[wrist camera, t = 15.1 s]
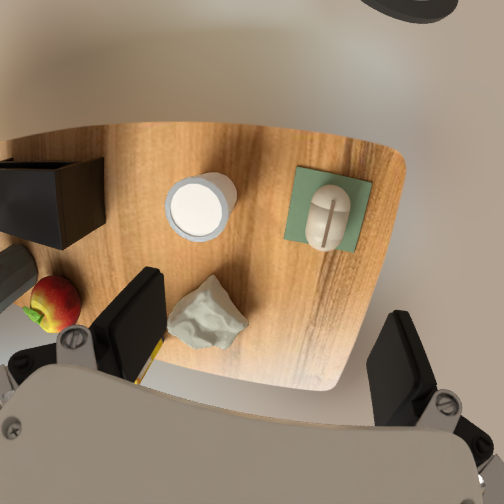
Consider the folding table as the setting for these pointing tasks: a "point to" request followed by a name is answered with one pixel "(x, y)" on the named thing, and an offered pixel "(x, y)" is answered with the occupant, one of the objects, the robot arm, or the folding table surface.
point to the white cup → (200, 206)
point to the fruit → (54, 304)
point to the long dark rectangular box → (51, 200)
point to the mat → (301, 200)
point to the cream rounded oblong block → (327, 217)
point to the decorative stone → (206, 317)
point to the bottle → (15, 274)
